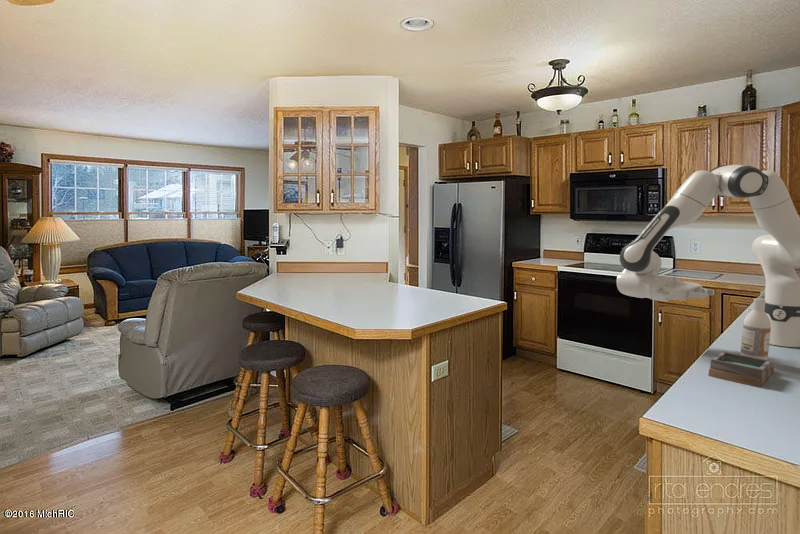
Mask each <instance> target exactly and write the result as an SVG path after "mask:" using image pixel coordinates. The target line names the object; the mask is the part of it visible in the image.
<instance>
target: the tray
mask: <svg viewBox="0 0 800 534" xmlns="http://www.w3.org/2000/svg"><path fill="white" fill-rule="evenodd" d="M772 361H773V360H764V359H759V358H754V357H748V356H743V355H741V354H739V353H738V354H737V353H732V352H728V351H727V352H726V351H721V352H720V353H718V354H717V355H716V356H714V357H713V358H711V359H710V367H709V368H708V376H709V377H714V378H717V379H722V380H727V381H731V382H735V383H740V384H744V385H749V386H753V387H757V388H760V387H761V386H762V385H763V384H764V383H765V382H766V381H767V380H768V379H769V378H770V377H771V376H772V375H773V374H774V372H775V365H772Z"/></svg>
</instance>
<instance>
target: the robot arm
mask: <svg viewBox="0 0 800 534" xmlns="http://www.w3.org/2000/svg"><path fill="white" fill-rule="evenodd" d="M718 196H723V197H727V198H739V199H748V201H749V204H750V207H751V209H752V211H753V214H754V216H755V220H756V222H757V224H758V226H759V228H761V230H763V231H764V232H767V233H768V234H763V235H760V236H758V237H756V239H754V240H753V242H752V244H751V253H752V255H753V257H754V258H755V259H756V260H757V261H758V262H759V264H760V266H761V268H762V271H763V275H764V279H765V287H764V289H765V310H764V311H765V313H766V314H767V316H768V317H769V319H770V322H771V333H770V342H769V345H772V346H780V347H787V348H800V277H799V275H798V273H797V272H796V268H797V267H798V268H800V215H799V214H798V211H797V209H796V207H795V205H794V202H793V200H792V197H791V195H790V193H789V189H788V188H787V186H786V184H785V182H784V180H783V179H782V178H781V176H780V175H779V174H778V172H776V171H774V170H762V171H761V170H760V169H759V168H756V167H755V166H752V165H743V164H722V165H719V166H717V167H714V168H712V169H711V170H704V169H702V170H701V169H700V170H695V172H693V173H692V174H690V176H689V177H688V178H686V180H685V181H684V182H683V183H682V184H681V185H680V186H679V188H678V189H677V190H676V191H675V193H674V194H673V195H672V197H671V198H670V200H669V201H668V202H667V203H666V205H665V206H664V207H662V209H661V210H660V211H659V212H658V213H657V214H656V215H655V216H654V217H653V218H652V219H651V221H650V222H648V224H647V226H646V227H645V228H644V229H643V230H642V231H641V232H640V233H639V235H638V236H636V238H634V240H632V241H631V242H629V243H628V244H626V245H625V246H624V247H623V248H622V249H621V251H620V253H619V262H620V264H621V266H622V268H624V269H623V270H622V271H621V272H620V273H618V274H617V277H616V281H615V282H616V283H615V284H616V287H617V290H618V291H619V292H620V293H621V294H623V295H625V296H628V297H634V298H637V299H638V298H640V299H644V298H645V299H646V298H647V299H650V300H653V301H659V302H660V301H661V302H666V303H667V302H671V300H676V301H686V300H689V299H701V300H702V299H706V297H707V296H711V297H712V296H714V295H715V290H714V289H710V288H705V287H703V285H702V284H700V283H698V282H691V281H685V280H679V278H676V277H672V276H665V275H659V274H660V273H659V272H660V270H661V268H662V267H661V266H662V259H661V257H660V256H659V254H658V253H656V252H655V251H654V248H656V246H657V245H658V243H659V242H660V241H661V240H662V239H663V237H664V236H666V234H667V232H669V231H670V230H671V229H673V228H675V227H679V226H687V225H690V224H694V222H695V221H697V220H698V219H699V217H701V215H703V213H704V212H705V210H706V209H707V207H708V206H709V205H710V203H711V202H712V201H713V200H714V199H715V198H716V197H718ZM795 267H796V268H795ZM706 295H707V296H706Z"/></svg>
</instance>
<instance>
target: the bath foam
mask: <svg viewBox="0 0 800 534" xmlns="http://www.w3.org/2000/svg"><path fill="white" fill-rule="evenodd" d="M764 310H765V299H760V298H757V297H755V298H753V303H752V310H750V312H749V313H748V314H747V315H746V317H745V318H744V320H743V325H742V333H741V334H742V335H741V345H740V355H743V356H748V357H754V358H759V359H764V360H768V359H769V350H770V344H769V342H770V333H771V322H770V319H769V317H768V316H767V314H766V313H765V311H764Z"/></svg>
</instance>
